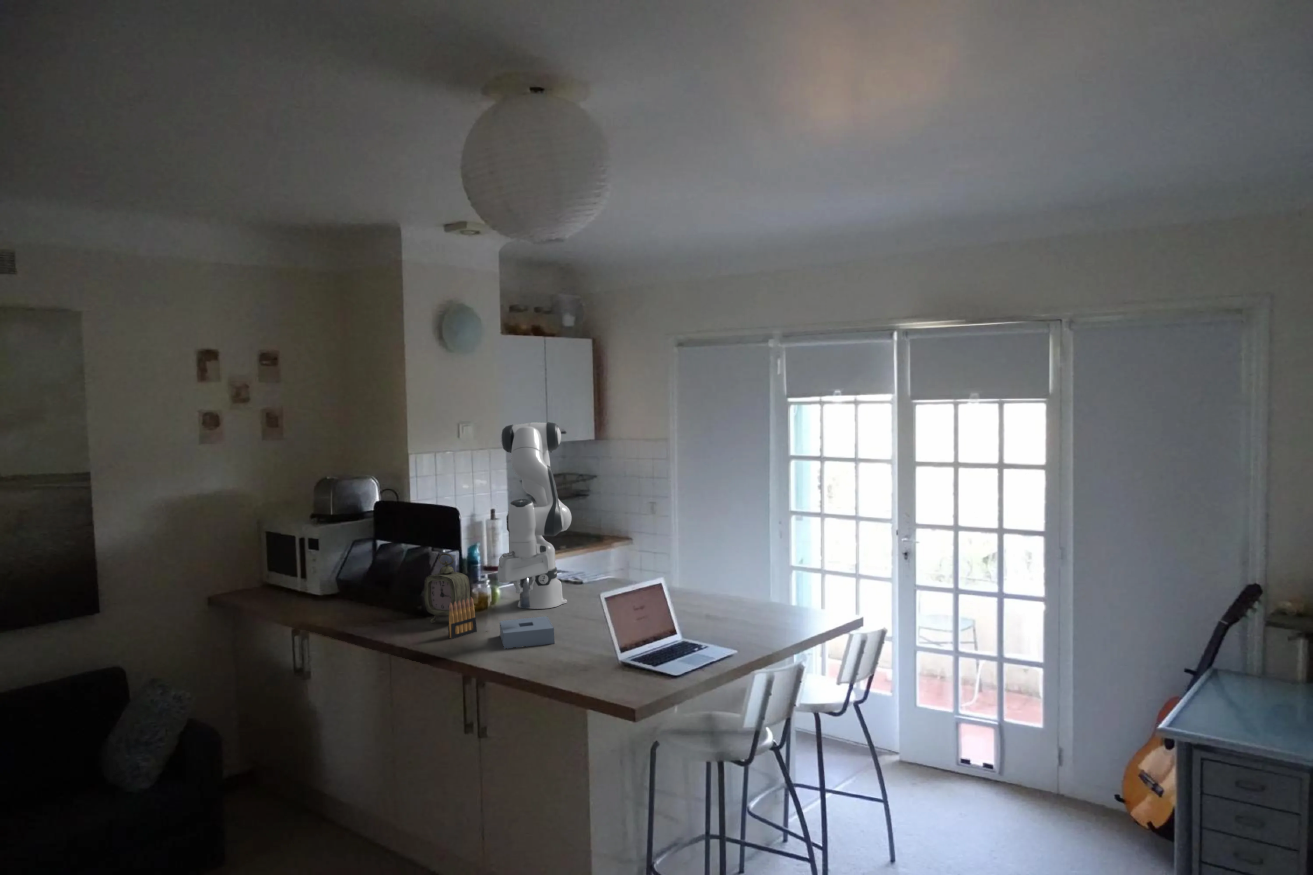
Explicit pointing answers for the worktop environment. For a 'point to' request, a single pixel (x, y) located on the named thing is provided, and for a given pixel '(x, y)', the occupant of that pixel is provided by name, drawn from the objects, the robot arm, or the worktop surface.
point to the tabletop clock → (445, 590)
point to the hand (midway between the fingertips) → (524, 591)
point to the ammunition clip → (461, 619)
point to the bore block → (526, 632)
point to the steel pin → (525, 593)
